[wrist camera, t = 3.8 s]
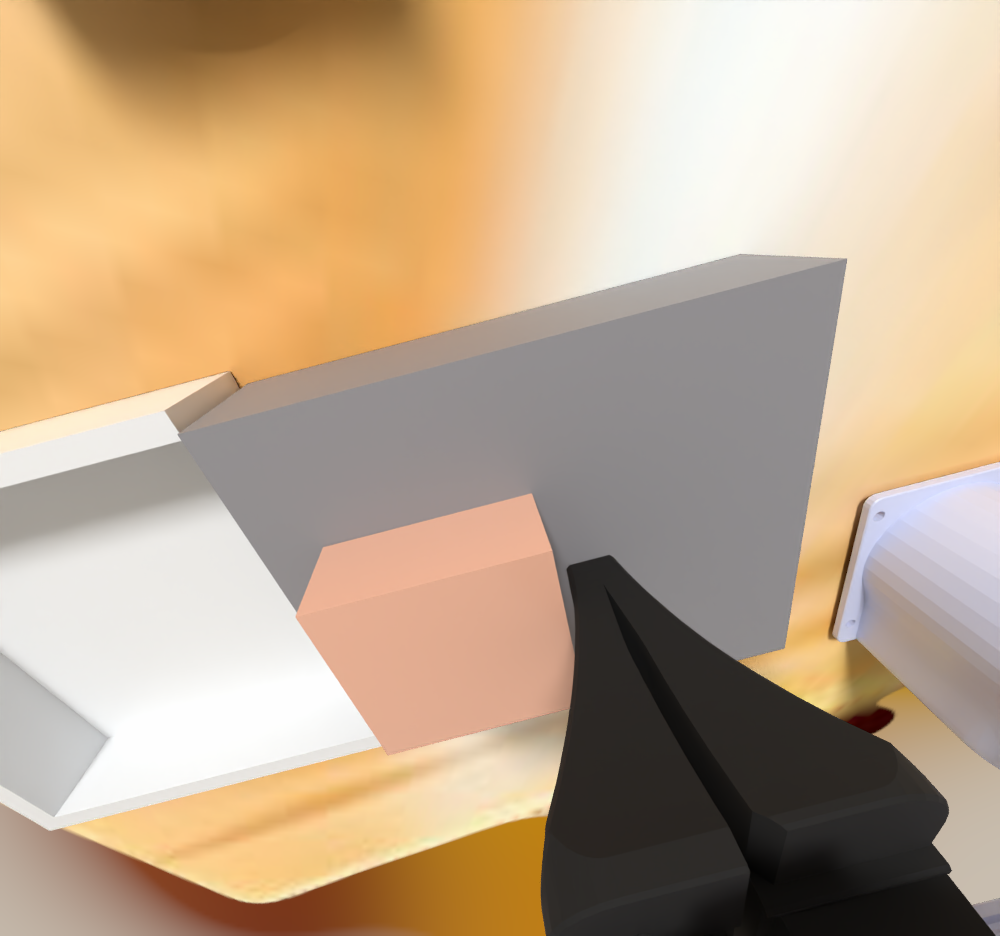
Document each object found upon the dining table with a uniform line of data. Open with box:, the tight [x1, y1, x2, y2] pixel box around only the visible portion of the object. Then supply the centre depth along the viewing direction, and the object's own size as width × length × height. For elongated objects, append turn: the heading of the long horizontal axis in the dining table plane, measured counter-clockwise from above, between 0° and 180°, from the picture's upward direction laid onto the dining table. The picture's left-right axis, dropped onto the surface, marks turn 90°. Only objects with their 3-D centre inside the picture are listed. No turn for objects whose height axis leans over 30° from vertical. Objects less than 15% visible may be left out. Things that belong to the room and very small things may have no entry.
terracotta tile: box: [295, 493, 575, 755], centre depth 12 cm, size 6×6×2 cm
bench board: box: [177, 254, 847, 660], centre depth 15 cm, size 14×16×4 cm
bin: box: [0, 371, 381, 831], centre depth 15 cm, size 15×14×4 cm
